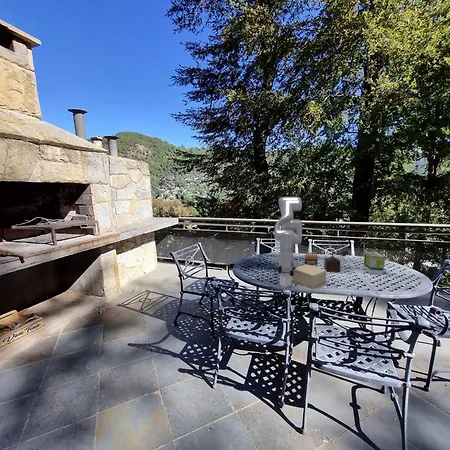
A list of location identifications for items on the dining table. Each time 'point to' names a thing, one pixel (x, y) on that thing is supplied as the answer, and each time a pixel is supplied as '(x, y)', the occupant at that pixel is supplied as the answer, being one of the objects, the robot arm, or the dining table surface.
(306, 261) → the ammunition clip
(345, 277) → the dining table surface
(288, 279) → the weight block
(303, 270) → the box lid
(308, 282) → the cardboard box
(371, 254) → the tea box
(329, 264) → the manual coffee grinder
